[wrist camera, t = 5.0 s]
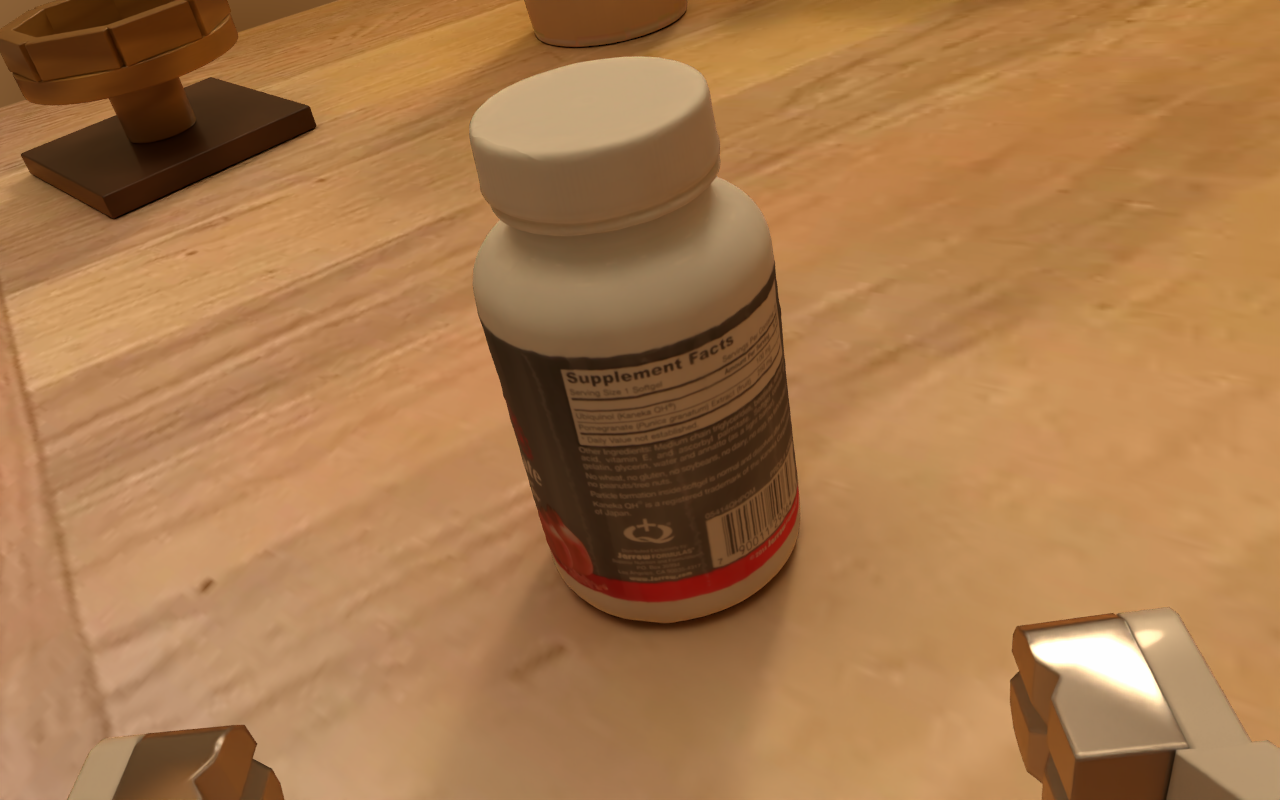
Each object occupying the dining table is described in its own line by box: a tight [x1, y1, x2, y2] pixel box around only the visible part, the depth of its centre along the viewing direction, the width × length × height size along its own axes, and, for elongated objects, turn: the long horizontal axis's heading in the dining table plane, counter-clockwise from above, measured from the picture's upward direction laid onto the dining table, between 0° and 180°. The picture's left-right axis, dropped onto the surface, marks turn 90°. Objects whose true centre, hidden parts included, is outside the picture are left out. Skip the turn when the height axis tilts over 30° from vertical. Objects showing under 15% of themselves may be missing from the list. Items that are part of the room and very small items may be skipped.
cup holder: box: [0, 0, 316, 218], centre depth 47 cm, size 10×10×6 cm
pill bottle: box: [469, 57, 800, 623], centre depth 20 cm, size 5×5×10 cm
